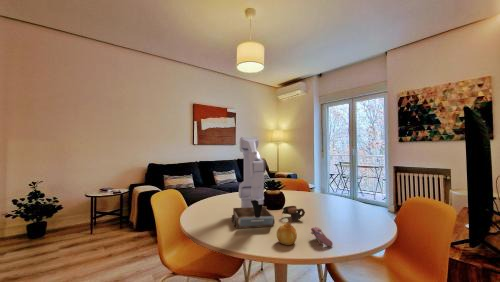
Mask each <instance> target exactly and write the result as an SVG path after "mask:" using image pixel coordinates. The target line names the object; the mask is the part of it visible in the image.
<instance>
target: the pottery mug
mask: <svg viewBox="0 0 500 282" xmlns="http://www.w3.org/2000/svg"><path fill="white" fill-rule="evenodd" d="M305 213H306V212H305V209H304V208H297V206H296V205H289V206H284V207H283V208H282V212H281V215H283V214H284V215H289V217H287V223H291V222H299V221H300V220H301V219H302V218H303V217H304V216H305Z"/></svg>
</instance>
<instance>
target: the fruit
mask: <svg viewBox="0 0 500 282" xmlns="http://www.w3.org/2000/svg"><path fill="white" fill-rule="evenodd" d="M297 233H298V232H297V231H296V228H295V227H294V226H293V225H292V224H291V222H285V223H284V224H282V225H280V226H279V227H278V228H277V230H276V238H277V240H278V242H279V243H281V244H282V245H284V246H291V245H293V244H294V243H295V242H296V240H297V238H298V234H297Z"/></svg>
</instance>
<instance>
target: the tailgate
mask: <svg viewBox="0 0 500 282" xmlns="http://www.w3.org/2000/svg"><path fill="white" fill-rule="evenodd" d="M273 220H274V221H275V217H274V215H273V216H267V217H248V218H240V224H239V226H254V225H271V224H272V223H273Z"/></svg>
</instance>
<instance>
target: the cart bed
mask: <svg viewBox="0 0 500 282" xmlns="http://www.w3.org/2000/svg"><path fill="white" fill-rule="evenodd" d="M267 208H268V207H267V206H263V207H262V210H261V215H260V217H267V216H274V215H273V214H272V213H271V212H270V210H268V209H267ZM232 210H233V211H232V212H233V213H232V215H231V221H232V222H233V227H234V228H236V229H238V230H239V229H250V228H251V229H253V228H269V227H274V226H275V219H274V220H273V223H272V224H271V225H254V226H239V224H240V218H248V217H255V214H254V209H253V207H245V208H241V207H233V209H232Z"/></svg>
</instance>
